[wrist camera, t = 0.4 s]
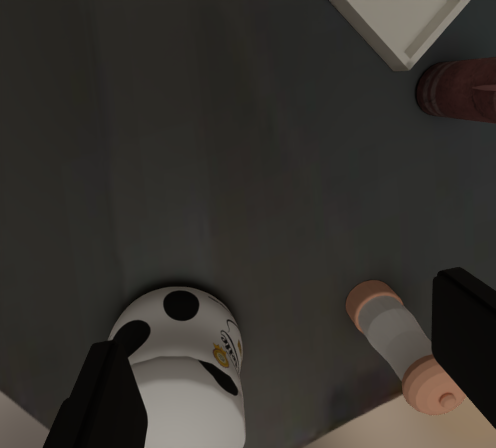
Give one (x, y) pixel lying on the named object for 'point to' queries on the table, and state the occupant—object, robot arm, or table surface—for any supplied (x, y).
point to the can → (460, 90)
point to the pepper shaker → (403, 347)
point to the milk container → (185, 368)
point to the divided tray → (399, 25)
